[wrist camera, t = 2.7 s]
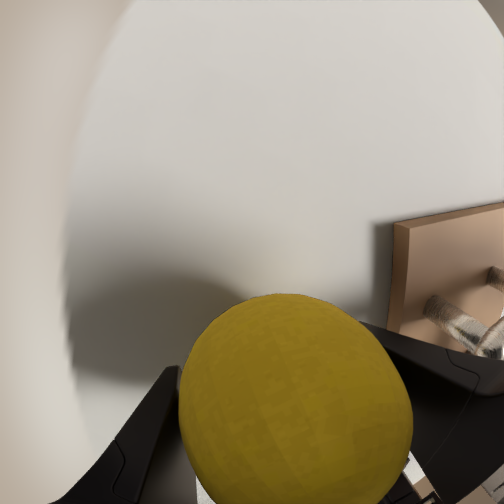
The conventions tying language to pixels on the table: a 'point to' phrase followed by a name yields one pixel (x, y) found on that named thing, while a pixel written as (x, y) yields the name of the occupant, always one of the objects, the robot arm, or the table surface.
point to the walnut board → (446, 270)
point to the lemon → (293, 406)
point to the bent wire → (470, 322)
